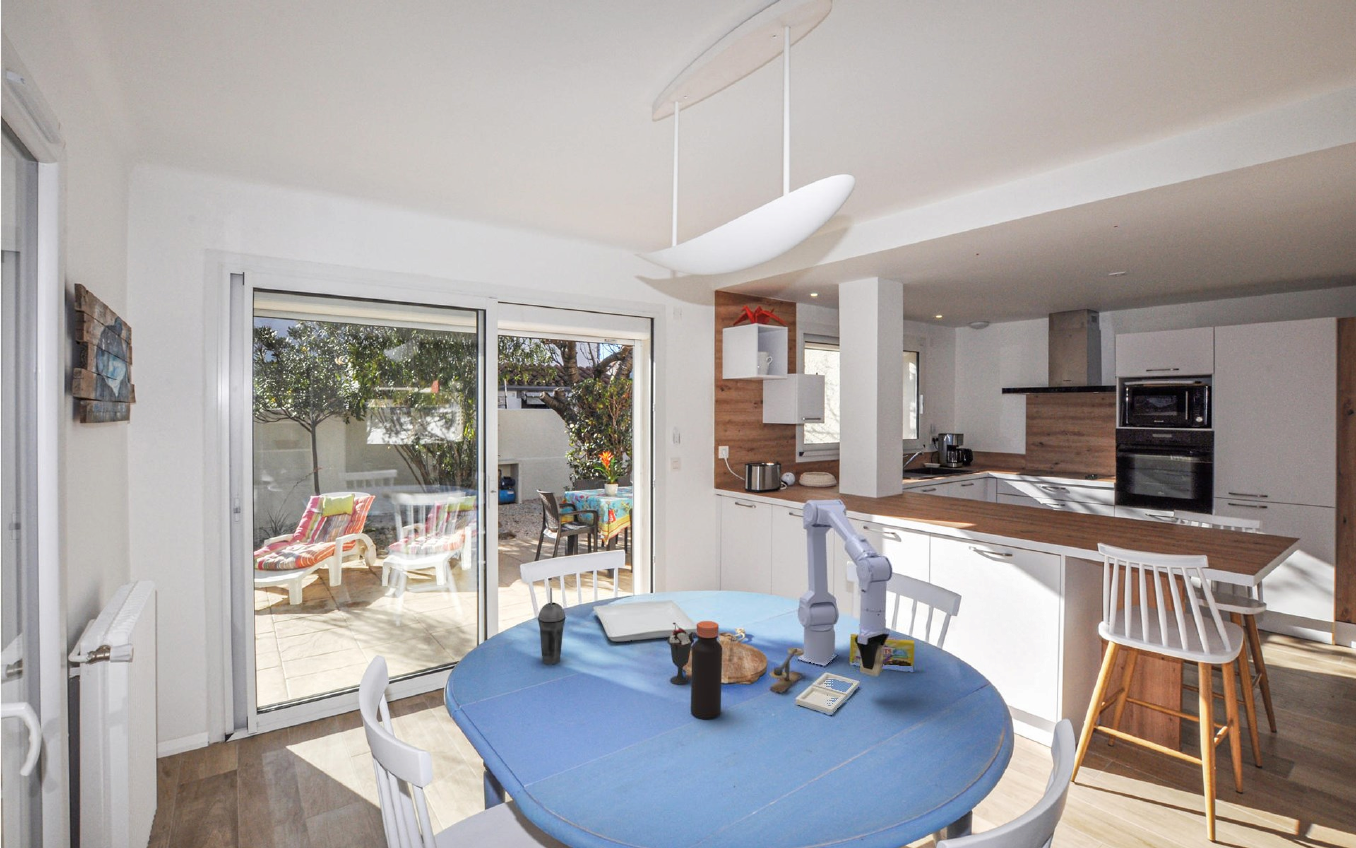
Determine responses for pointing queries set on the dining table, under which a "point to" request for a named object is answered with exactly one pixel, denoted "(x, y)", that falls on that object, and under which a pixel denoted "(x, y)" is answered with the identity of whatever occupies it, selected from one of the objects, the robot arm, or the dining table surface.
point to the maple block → (877, 664)
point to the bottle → (706, 672)
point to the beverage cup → (551, 631)
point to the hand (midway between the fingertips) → (871, 665)
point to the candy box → (888, 652)
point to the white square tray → (831, 676)
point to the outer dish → (819, 699)
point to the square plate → (643, 620)
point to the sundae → (680, 653)
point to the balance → (786, 673)
